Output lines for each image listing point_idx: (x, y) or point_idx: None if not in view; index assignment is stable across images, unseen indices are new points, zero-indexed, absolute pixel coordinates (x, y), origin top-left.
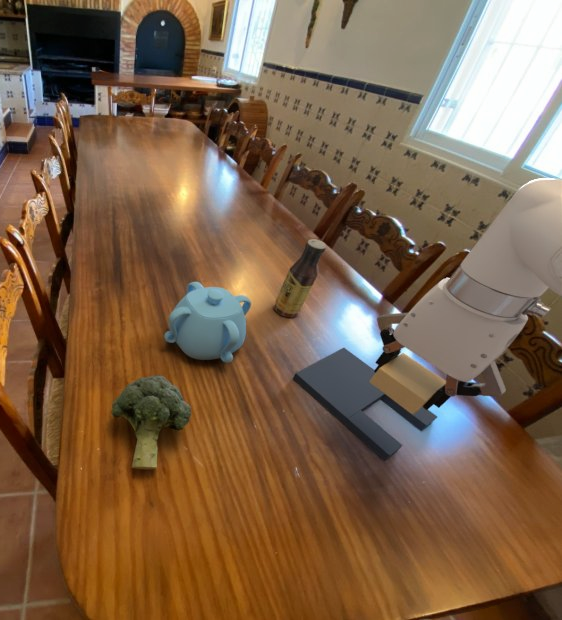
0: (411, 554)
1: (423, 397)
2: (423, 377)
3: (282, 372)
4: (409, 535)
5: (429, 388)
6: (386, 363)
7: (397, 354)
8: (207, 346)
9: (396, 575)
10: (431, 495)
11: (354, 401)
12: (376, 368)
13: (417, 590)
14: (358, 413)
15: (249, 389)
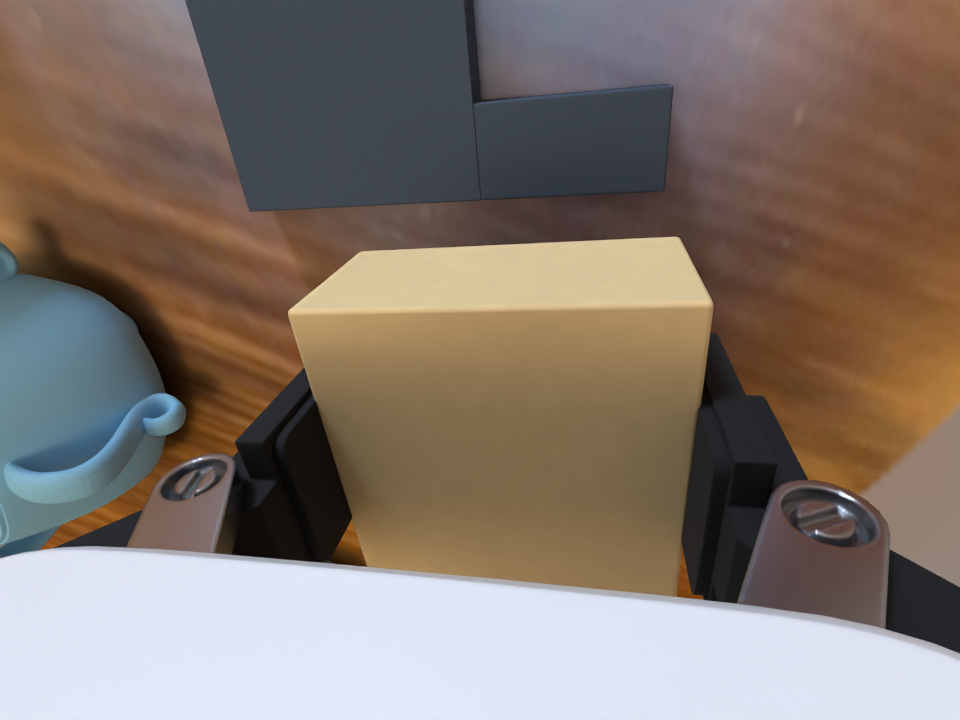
0: (846, 374)
1: (650, 590)
2: (549, 436)
3: (236, 215)
4: (825, 335)
5: (636, 498)
6: (350, 520)
7: (303, 475)
8: (124, 477)
9: (832, 442)
10: (841, 140)
11: (430, 89)
12: None
13: (885, 431)
14: (481, 133)
15: (283, 364)
